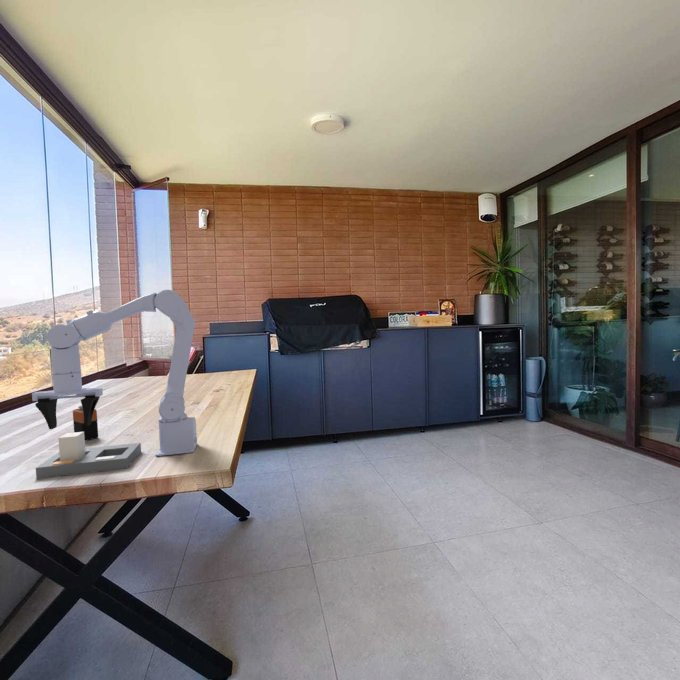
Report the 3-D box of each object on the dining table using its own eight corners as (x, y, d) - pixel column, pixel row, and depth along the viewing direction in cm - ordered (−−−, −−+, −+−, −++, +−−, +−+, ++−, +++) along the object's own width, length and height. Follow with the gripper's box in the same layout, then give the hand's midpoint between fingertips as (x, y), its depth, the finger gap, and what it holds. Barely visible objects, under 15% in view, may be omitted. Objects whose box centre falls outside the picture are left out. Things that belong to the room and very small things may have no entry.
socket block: (141, 451, 101) (140, 442, 100) (127, 468, 89) (126, 457, 89) (62, 459, 96) (61, 449, 96) (36, 478, 84) (35, 467, 84)
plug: (86, 461, 94) (84, 431, 94) (79, 467, 90) (77, 436, 90) (68, 463, 93) (66, 433, 93) (60, 469, 89) (58, 437, 89)
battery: (89, 434, 119) (87, 404, 118) (99, 437, 115) (97, 406, 114) (73, 438, 115) (71, 407, 114) (83, 441, 111) (81, 409, 111)
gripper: (22, 377, 85) (27, 434, 85) (93, 373, 88) (96, 428, 89) (39, 373, 91) (43, 426, 92) (104, 369, 95) (107, 420, 96)
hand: (70, 426), depth 91 cm, fingers open, 7 cm apart
